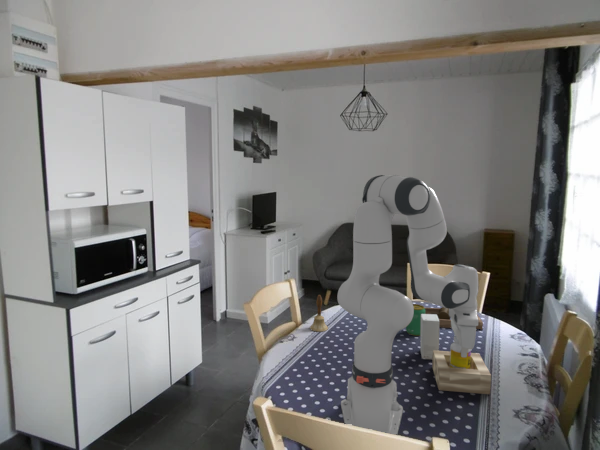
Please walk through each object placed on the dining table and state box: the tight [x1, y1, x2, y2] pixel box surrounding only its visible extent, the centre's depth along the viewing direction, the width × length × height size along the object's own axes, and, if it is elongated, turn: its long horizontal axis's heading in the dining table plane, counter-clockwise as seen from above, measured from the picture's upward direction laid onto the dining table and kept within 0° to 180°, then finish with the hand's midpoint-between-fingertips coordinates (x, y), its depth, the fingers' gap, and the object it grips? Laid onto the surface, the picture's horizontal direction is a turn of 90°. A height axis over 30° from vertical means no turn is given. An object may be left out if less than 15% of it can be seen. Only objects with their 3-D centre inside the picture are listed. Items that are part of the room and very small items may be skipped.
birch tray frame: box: [431, 350, 492, 395], centre depth 144 cm, size 16×16×7 cm
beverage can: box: [405, 303, 426, 337], centre depth 184 cm, size 8×8×12 cm
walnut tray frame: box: [424, 307, 484, 331], centre depth 198 cm, size 16×26×4 cm, turn 80°
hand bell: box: [309, 294, 329, 333], centre depth 189 cm, size 8×8×16 cm
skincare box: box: [419, 314, 440, 361], centre depth 162 cm, size 8×7×16 cm
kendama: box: [431, 306, 451, 320], centre depth 198 cm, size 6×10×20 cm
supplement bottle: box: [449, 335, 472, 369], centre depth 143 cm, size 7×7×13 cm
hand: (460, 350), depth 143 cm, fingers open, 8 cm apart
